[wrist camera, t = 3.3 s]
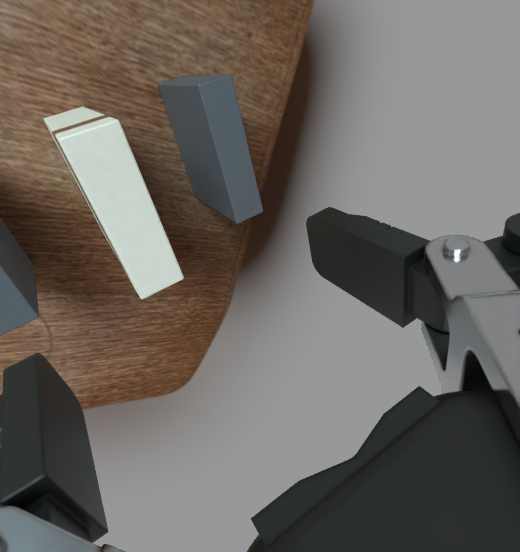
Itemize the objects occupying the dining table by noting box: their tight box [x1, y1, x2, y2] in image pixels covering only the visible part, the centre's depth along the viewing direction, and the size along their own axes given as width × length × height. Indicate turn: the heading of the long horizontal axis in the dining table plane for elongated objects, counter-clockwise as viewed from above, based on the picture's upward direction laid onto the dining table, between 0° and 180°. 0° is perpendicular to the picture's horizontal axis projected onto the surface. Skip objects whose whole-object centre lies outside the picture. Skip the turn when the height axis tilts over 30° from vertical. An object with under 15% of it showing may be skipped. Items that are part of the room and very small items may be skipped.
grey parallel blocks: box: [0, 74, 263, 336], centre depth 21 cm, size 16×8×7 cm, turn 104°
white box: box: [44, 107, 184, 299], centre depth 20 cm, size 2×8×10 cm, turn 14°
